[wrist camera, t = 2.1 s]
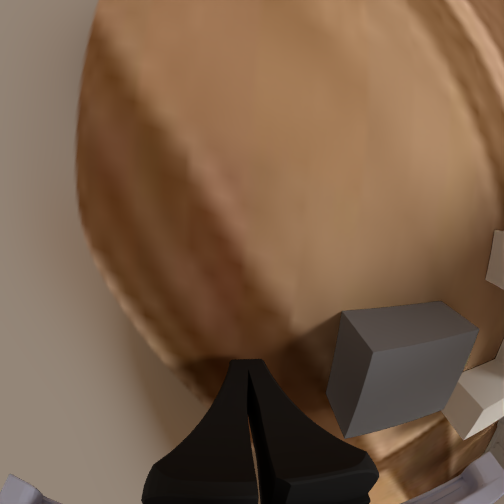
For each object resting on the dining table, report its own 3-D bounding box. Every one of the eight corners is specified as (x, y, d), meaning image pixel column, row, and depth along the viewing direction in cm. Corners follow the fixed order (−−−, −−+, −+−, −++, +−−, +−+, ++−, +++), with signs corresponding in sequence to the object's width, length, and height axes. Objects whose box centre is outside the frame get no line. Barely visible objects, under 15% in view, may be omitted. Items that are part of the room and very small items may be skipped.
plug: (452, 297, 13) (492, 324, 9) (429, 369, 14) (458, 402, 11) (340, 308, 12) (373, 352, 9) (324, 391, 13) (344, 438, 10)
